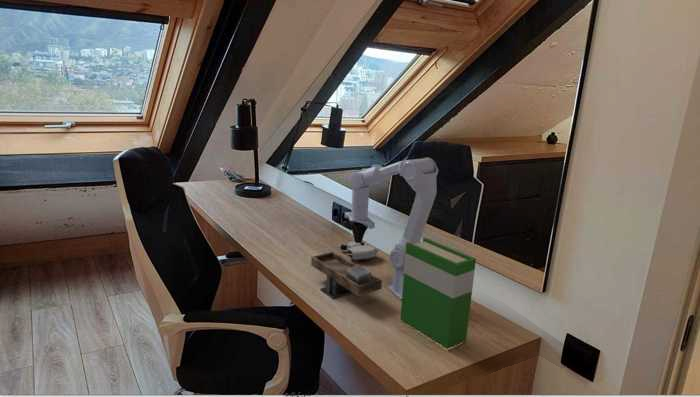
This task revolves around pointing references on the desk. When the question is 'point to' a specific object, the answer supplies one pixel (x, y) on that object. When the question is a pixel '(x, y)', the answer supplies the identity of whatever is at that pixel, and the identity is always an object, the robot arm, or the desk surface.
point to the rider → (359, 274)
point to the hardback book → (437, 291)
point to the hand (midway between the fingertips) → (358, 242)
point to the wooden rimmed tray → (343, 273)
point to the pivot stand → (334, 289)
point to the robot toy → (359, 250)
